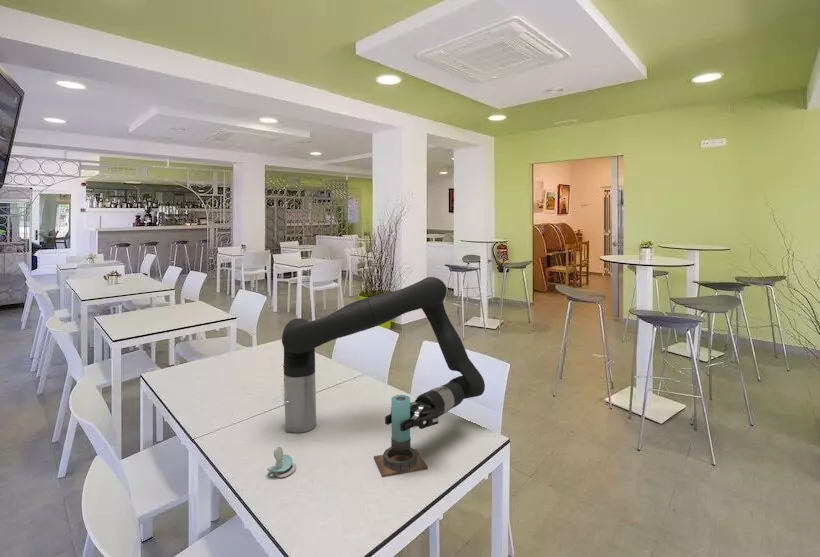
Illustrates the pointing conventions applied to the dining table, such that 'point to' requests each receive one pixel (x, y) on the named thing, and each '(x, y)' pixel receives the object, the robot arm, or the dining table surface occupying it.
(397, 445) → the teal cylinder
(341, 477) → the dining table surface
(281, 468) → the pacifier
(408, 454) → the socket
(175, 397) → the dining table surface
